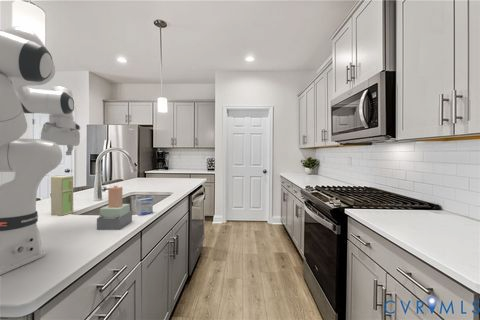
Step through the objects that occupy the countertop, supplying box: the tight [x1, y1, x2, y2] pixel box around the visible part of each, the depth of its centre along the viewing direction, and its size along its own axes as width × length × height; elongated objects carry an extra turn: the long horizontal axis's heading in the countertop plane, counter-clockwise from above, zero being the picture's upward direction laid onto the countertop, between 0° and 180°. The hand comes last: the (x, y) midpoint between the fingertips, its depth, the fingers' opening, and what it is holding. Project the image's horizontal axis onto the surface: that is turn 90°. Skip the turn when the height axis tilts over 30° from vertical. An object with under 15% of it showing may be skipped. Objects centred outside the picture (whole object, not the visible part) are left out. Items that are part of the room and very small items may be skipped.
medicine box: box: [135, 197, 154, 217], centre depth 140 cm, size 8×4×9 cm, turn 143°
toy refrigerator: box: [50, 175, 74, 217], centre depth 136 cm, size 8×7×21 cm
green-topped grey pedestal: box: [96, 203, 133, 231], centre depth 117 cm, size 14×10×9 cm
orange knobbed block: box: [107, 185, 123, 207], centre depth 117 cm, size 4×4×10 cm
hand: (61, 155), depth 110 cm, fingers open, 8 cm apart
